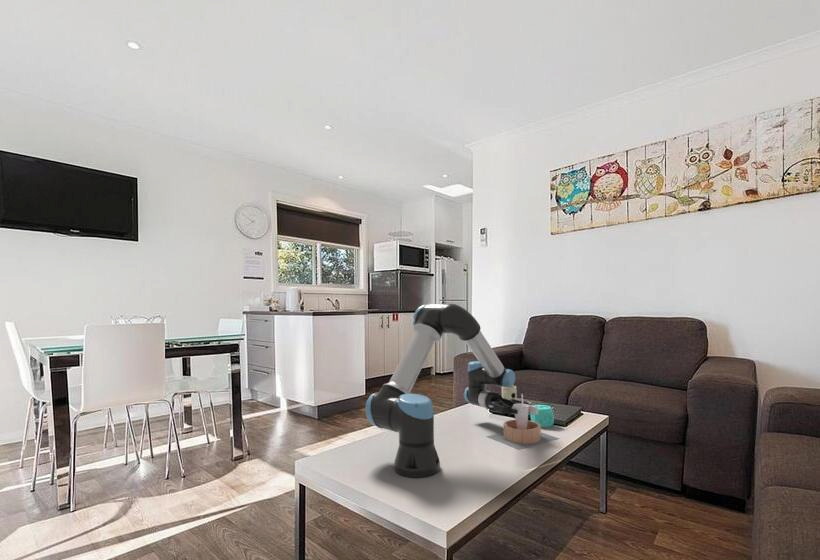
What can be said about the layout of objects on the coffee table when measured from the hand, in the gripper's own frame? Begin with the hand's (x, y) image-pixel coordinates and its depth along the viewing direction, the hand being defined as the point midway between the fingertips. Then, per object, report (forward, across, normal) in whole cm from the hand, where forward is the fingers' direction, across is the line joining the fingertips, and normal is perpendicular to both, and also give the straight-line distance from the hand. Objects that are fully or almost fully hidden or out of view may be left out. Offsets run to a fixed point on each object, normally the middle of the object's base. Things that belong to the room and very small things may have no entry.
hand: (530, 412), depth 160 cm
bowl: (-5, 0, -11) cm, 12 cm away
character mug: (-35, -22, -12) cm, 43 cm away
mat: (-5, 0, -12) cm, 13 cm away
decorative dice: (-13, -20, -12) cm, 27 cm away
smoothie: (-5, 0, -8) cm, 10 cm away
